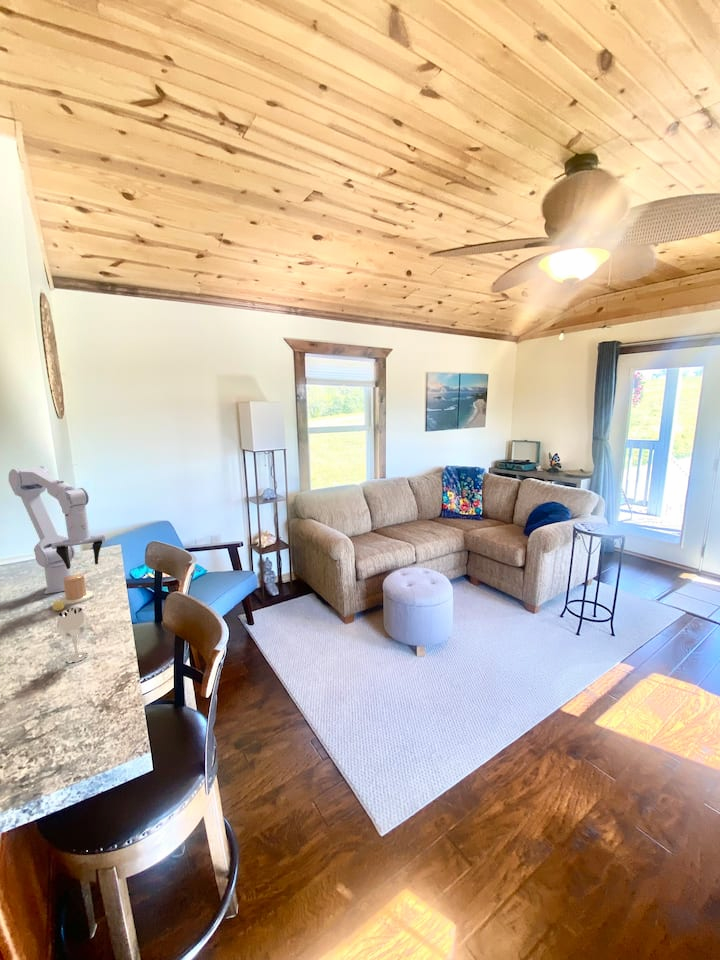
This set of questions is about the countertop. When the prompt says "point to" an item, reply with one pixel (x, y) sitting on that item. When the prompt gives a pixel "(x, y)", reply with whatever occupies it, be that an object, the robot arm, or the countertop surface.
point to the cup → (74, 587)
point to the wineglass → (72, 628)
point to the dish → (69, 602)
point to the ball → (58, 605)
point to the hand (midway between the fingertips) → (82, 565)
